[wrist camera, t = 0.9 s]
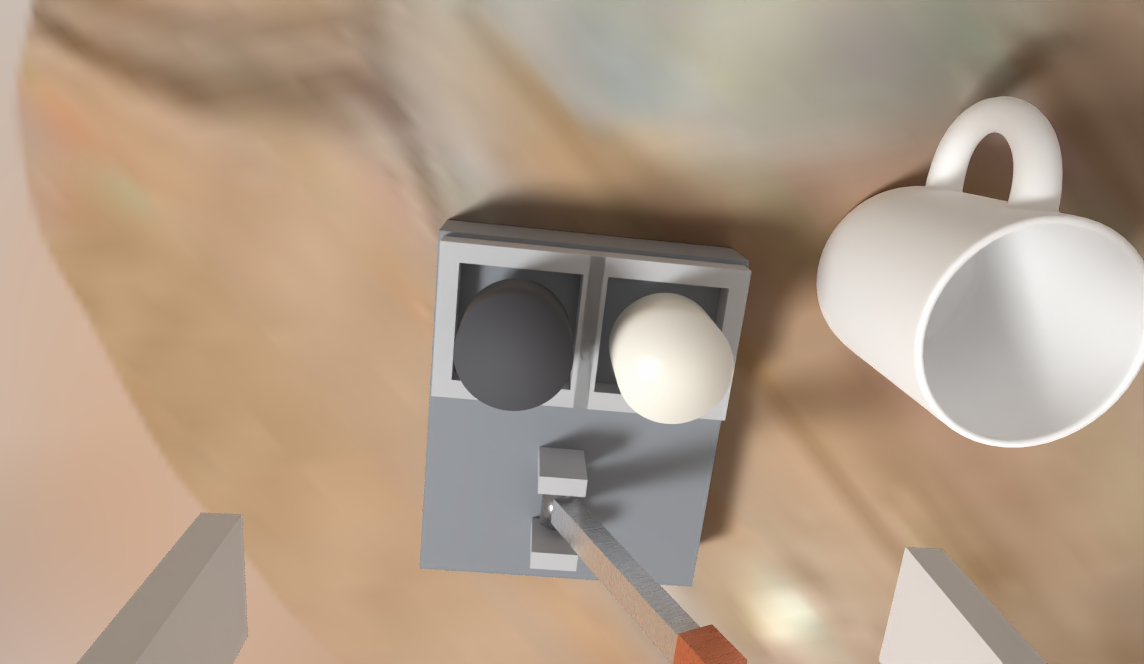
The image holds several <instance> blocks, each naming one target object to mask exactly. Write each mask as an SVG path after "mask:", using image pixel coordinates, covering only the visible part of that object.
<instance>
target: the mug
mask: <svg viewBox="0 0 1144 664" xmlns="http://www.w3.org/2000/svg"><path fill="white" fill-rule="evenodd" d="M993 132H997V133H1000V134H1002V135H1003V136H1004V137H1005V139H1006V140H1007V142H1008V144H1009V146H1010V148H1011V152H1012V156H1013V164H1014V166H1013V180H1012V187H1011V192H1010V196H1009V199H1008V201H1003V200H998V199H993V198H989V197H984V196H979V195H974V194H969V193H963V191H962V190H963V185H964V180H965V175H966V171H967V168H968V164H969V162H970V159H971V156H972V154H973V152H974V150H975V148H976V146H977V145H978V144H979V142H980V141H981V140H982V139H983V138H984V137H985V136H986V135H988V134H989V133H993ZM1062 176H1063V171H1062V156H1061V151H1060V145H1059V142H1058V139H1057V136H1056V133H1055V131H1054V129H1053V127H1052V126H1051V124H1050V122H1049V121H1048V119H1047V118H1046V117H1045V116H1044V115H1043V114H1042V113H1041V112H1040V111H1039V110H1038V109H1037V108H1036V107H1035V106H1033V105H1032V104H1030V103H1029V102H1026V101H1024V100H1021V99H1018V98H1015V97H1008V96H1000V97H994V98H988V99H985V100H982V101H980V102H977V103H976V104H974V105H972V106H971V107H969V108H968V109H966V110H965V111H963V112H962V113H961V114H960V115H959V116H958V117H957V118H956V119H955V120H954V121H953V123H952V124H951V125H950V126H949V128H948V129H947V131H946V133H945V134H944V136H943V138H942V139H941V141H940V143H939V146H938V148H937V150H936V152H935V155H934V158H933V160H932V163H931V167H930V170H929V173H928V177H927V181H926V185H925V186H910V187H901V188H896V189H892V190H888V191H885V192H882V193H880V194H877V195H875V196H873V197H871V198H869V199H867V200H865V201H864V202H862V203H861V204H860V205H858V206H857V207H855V208H854V209H853V210H852V211H851V212H850V213H848V214H847V215H846V216H845V217H844V218H843V220H842V221H841V222H840V223H839V224H838V225H837V227H836V228H835V229H834V231H833V232H832V234H831V235H830V237H829V239H828V241H827V243H826V245H825V247H824V249H823V252H822V254H821V257H820V261H819V265H818V271H817V296H818V302H819V305H820V308H821V311H822V314H823V316H824V318H825V320H826V322H827V323H828V325H829V327H830V328H831V330H832V331H833V332H834V334H835V335H836V336H837V337H838V338H839V339H840V340H841V341H842V343H844V344H845V345H846V346H847V347H848V348H849V349H851V350H852V351H853V352H854V353H855V354H857V355H858V356H859V357H860V358H862V359H863V360H864V361H866V362H867V363H868V364H869V365H871V366H872V367H873V368H874V369H876V370H877V371H878V372H880V373H881V374H882V375H883V376H885V377H886V378H887V379H888V380H890V381H891V382H892V383H894V384H895V385H896V386H897V387H899V388H900V389H901V390H903V391H904V392H905V393H906V394H908V395H909V396H910V397H911V398H913V399H914V400H915V401H917V402H918V403H919V404H920V405H922V406H923V407H924V408H925V409H927V410H928V411H929V412H931V413H932V414H933V415H934V416H936V417H937V418H938V419H940V420H941V421H942V422H943V423H945V424H946V425H947V426H948V427H950V428H951V429H953V430H954V431H956V432H957V433H959V434H961V435H962V436H964V437H967V438H969V439H971V440H974V441H976V442H980V443H984V444H987V445H993V446H1000V447H1027V446H1035V445H1040V444H1044V443H1048V442H1052V441H1054V440H1057V439H1060V438H1063V437H1065V436H1068V435H1070V434H1072V433H1074V432H1076V431H1078V430H1080V429H1081V428H1083V427H1085V426H1086V425H1088V424H1090V423H1091V422H1093V421H1094V420H1095V419H1097V418H1098V417H1099V416H1101V415H1102V414H1103V413H1104V412H1106V411H1107V410H1108V409H1109V408H1110V407H1111V406H1112V405H1113V404H1114V403H1115V402H1116V401H1117V400H1118V399H1119V398H1120V397H1121V396H1122V394H1123V393H1124V392H1125V391H1126V390H1127V389H1128V387H1129V386H1130V384H1131V383H1132V381H1133V380H1134V378H1135V377H1136V376H1137V374H1138V372H1139V370H1140V368H1141V366H1142V364H1143V363H1144V261H1143V259H1142V258H1141V256H1140V255H1139V253H1138V252H1137V251H1136V249H1135V248H1134V247H1133V246H1132V245H1131V244H1130V243H1129V242H1128V241H1127V240H1126V239H1125V238H1124V237H1123V236H1121V235H1120V234H1119V233H1117V232H1116V231H1114V230H1113V229H1112V228H1110V227H1108V226H1106V225H1104V224H1102V223H1100V222H1097V221H1094V220H1091V219H1088V218H1085V217H1080V216H1076V215H1071V214H1065V213H1060V212H1059V205H1060V199H1061V191H1062Z"/></svg>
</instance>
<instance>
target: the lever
mask: <svg viewBox="0 0 1144 664" xmlns="http://www.w3.org/2000/svg"><path fill="white" fill-rule="evenodd" d="M540 524H541V525H542V526H543V527H544V528H546V529H549V530H554V531H558V532H559V533H560V534H561V536H562V537H563V538H564V539H565V540H566V541H567V543H568V544H569V545H570V546H571V547H572V548H573V550H574V551H575V552H576V553H577V554H578V555H579V557H580V558H581V559H582V560H583V561H584V563H585V564H586V565H587V566H588V567H589V568H590V570H591V571H592V572H593V573H594V574H595V575H596V577H597V578H598V579H599V580H600V581H601V583H602V584H603V585H604V586H605V587H606V588H607V590H608V591H609V592H610V593H611V594H612V595H613V597H614V598H615V599H616V600H617V601H618V602H619V604H620V605H621V606H622V607H623V608H624V610H625V611H626V612H627V613H628V614H629V615H630V617H631V618H632V619H633V620H634V621H635V622H636V624H637V625H638V626H639V627H640V628H641V630H642V631H643V632H644V633H645V634H646V635H647V637H648V638H649V639H650V640H651V641H652V642H653V644H654V645H655V646H656V647H657V648H658V649H659V651H660V652H661V653H662V654H663V655H664V657H665V658H666V659H667V660H668V661H669V662H670V664H747V659H746V658H745V657H744V656H743V655H742V654H741V653H740V652H739V651H738V650H737V649H736V648H735V647H734V646H733V645H732V644H731V643H730V642H729V641H728V640H727V639H726V638H725V637H724V636H723V635H722V634H721V633H720V632H719V631H718V630H717V629H716V628H715V627H714V626H713V625H708V626H705V627H701V628H700V627H699V625H698V624H697V623H696V622H695V621H694V620H693V619H692V618H691V617H690V616H689V615H688V614H687V613H686V612H685V611H684V610H683V609H682V608H681V607H680V606H679V605H678V604H677V603H676V601H675V600H674V599H673V598H672V597H671V596H670V595H669V594H668V593H667V592H666V591H665V590H664V589H663V588H662V587H661V586H660V585H659V584H658V583H657V582H656V581H655V580H654V578H653V577H652V576H651V575H650V574H649V573H648V572H647V571H646V570H645V569H644V568H643V567H642V566H641V565H640V564H639V563H638V562H637V561H636V560H635V559H634V558H633V557H632V556H631V554H630V553H629V552H628V551H627V550H626V549H625V548H624V547H623V546H622V545H621V544H620V543H619V542H618V541H617V540H616V539H615V538H614V537H613V536H612V535H611V534H610V533H609V532H608V530H607V529H606V528H605V527H604V526H603V525H602V524H601V523H600V522H599V521H598V520H597V519H596V518H595V517H594V516H593V515H592V514H591V513H590V512H589V511H588V510H587V509H586V508H585V506H584V505H583V504H582V503H581V502H580V501H579V500H578V499H577V498H576V497H575V496H563V495H549V494H542V502H541V512H540Z"/></svg>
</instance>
